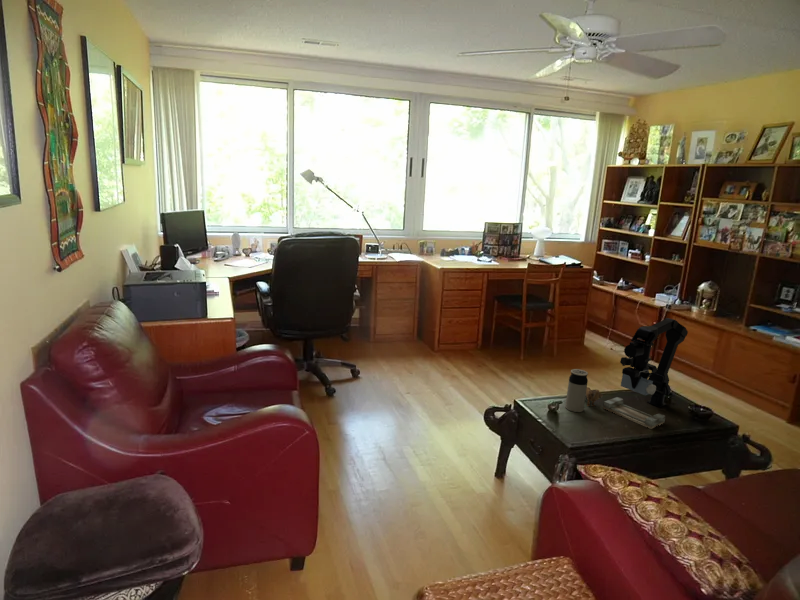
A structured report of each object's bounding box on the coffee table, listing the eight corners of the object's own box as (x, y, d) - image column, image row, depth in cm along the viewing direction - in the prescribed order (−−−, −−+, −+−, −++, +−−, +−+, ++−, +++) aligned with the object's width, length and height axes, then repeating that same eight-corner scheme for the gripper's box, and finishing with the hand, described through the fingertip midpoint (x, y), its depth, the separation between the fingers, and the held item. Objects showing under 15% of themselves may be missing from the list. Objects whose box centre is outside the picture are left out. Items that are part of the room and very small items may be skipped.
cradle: (616, 403, 241) (617, 396, 240) (664, 423, 222) (665, 416, 222) (602, 408, 234) (603, 401, 234) (650, 429, 216) (652, 421, 215)
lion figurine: (601, 409, 233) (604, 391, 231) (591, 409, 232) (594, 391, 230) (585, 396, 247) (587, 379, 245) (575, 396, 246) (577, 379, 244)
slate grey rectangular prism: (626, 384, 237) (628, 372, 236) (654, 395, 226) (657, 382, 225) (620, 386, 235) (622, 373, 234) (649, 397, 224) (651, 384, 223)
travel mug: (584, 413, 228) (590, 376, 224) (566, 411, 229) (571, 373, 225) (582, 406, 235) (587, 369, 231) (564, 404, 237) (569, 367, 233)
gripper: (637, 347, 239) (631, 378, 243) (614, 352, 229) (608, 384, 232) (660, 354, 230) (654, 386, 234) (637, 359, 220) (631, 393, 223)
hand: (636, 387), depth 231 cm, fingers closed on slate grey rectangular prism, 4 cm apart
